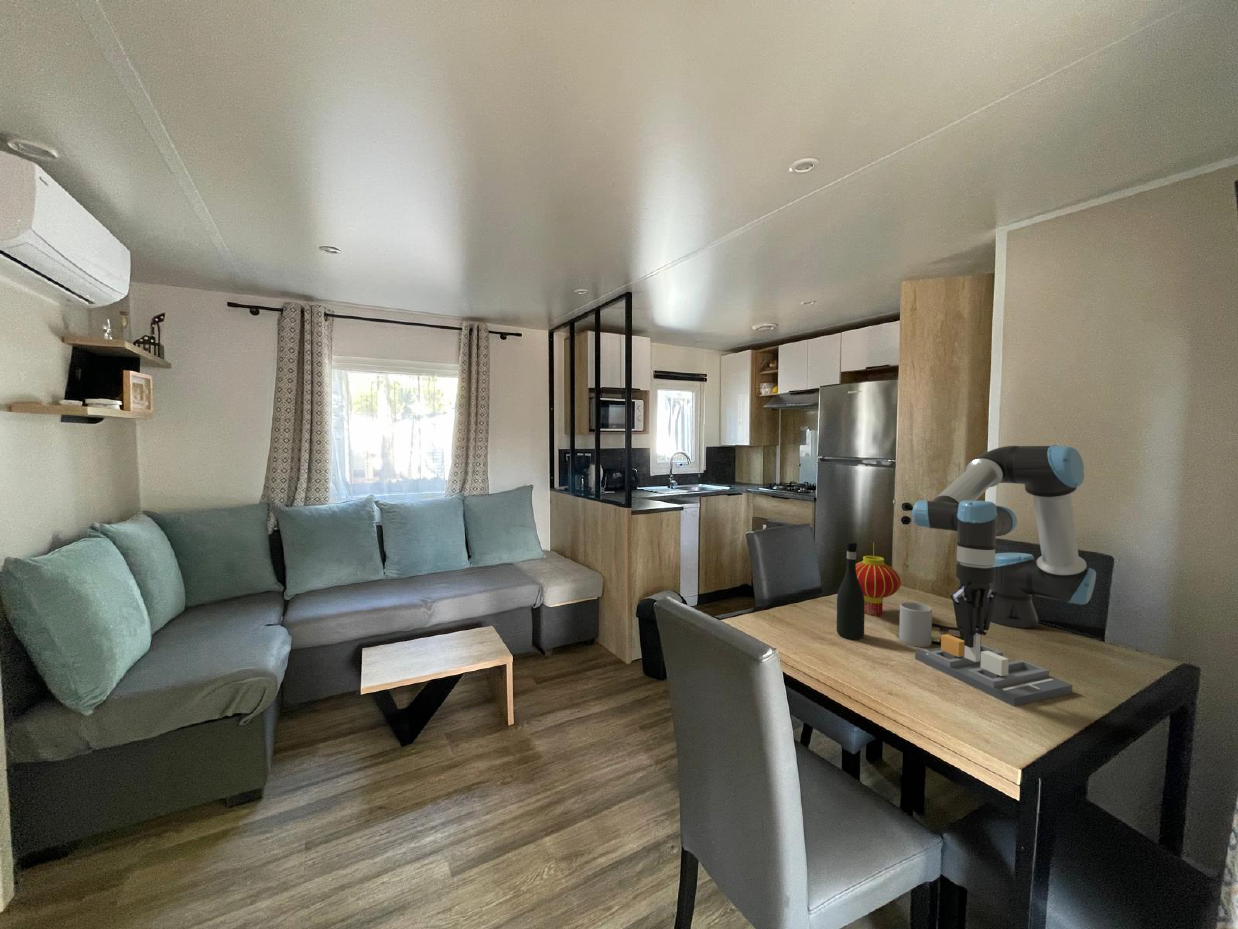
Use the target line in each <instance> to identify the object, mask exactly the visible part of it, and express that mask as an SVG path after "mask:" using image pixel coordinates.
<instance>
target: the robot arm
mask: <svg viewBox="0 0 1238 929" xmlns="http://www.w3.org/2000/svg"><path fill="white" fill-rule="evenodd" d="M1084 471H1085V466H1084V462H1083V458H1082V456H1081V454H1080V452H1079V451H1078V450H1077V449H1076V448H1074V447H1073V446H1067V445H1065V446H1063V445H1062V446H1061V445H1057V444H1055V445H1054V444H1052V445H1007V446H1000V447H997V448H994V449H991V450H989V451H986V452H984V453H982V454H980V455H978V456H976V457H975V458H974V459H971V461H970V462H968V464H967V465H966V467H965V471H964V472H962V473H961V475H960V476H958V477H957V478H956V479H955V480H954V481H953V482H952V483H950V484H949V485H948V486H947V487H946V488H945V489H943V491H941V492H940V493H939V494H938V495H937V496H936V497H935V498H933V499H932V500H928V499H926V500H923V499H922V500H917V501H916V502H915V503H914V505H913V508H912V512H911V515H912V517H911V518H912V521H913V522H914V524H915V525H917V526H919V527H923V528H927V529H933V530H935V529H936V530H941V531H942V530H945V531H950V532H951V531H953V532H956V533H957V534H956V535H957V537H956V539H957V540H956V544H957V547H956V561H958V562H957V563H956V565H955V577H956V578H957V579H958V580H959V585H958V591H957V592H951V593H950V596H949V597H950V599H951V600H952V603H953V609H954V618H955V622H956V628H957V630H958V631H961V632H963V634H964V635H963V636H964V638H963V640H964V645H965V656H964V657H965V658H967V659H970V660H972V661H974V662H978V661H980V646H981V644H982V636H986V635H987V631H989V630H990V626H991V622H992V623H996V624H998V625H1002V626H1007V627H1012V628H1021V629H1033V628H1037V627H1038V626H1039V617H1038V614H1037V612H1036V609H1035V606H1034V604H1033V596H1035V597H1041V598H1046V599H1049V600H1050V599H1051V600H1054V601H1060V602H1063V603H1064V602H1065V603H1068V604H1076V605H1086V604H1088V603H1089V601H1090V600H1091V599H1092V595H1093V593H1094V592H1093V591H1094V589H1095V585H1096V581H1097V580H1096V579H1097V572H1096V570H1095V569H1093V568H1091V567H1088V566H1087V562H1086V560H1085V559H1084V558H1082V557H1081V556H1079V550H1078V542H1077V534H1076V524H1075V518H1074V510H1073V502H1072V501H1073V500H1072V494H1074V493H1075V492H1076V491H1077V490H1078V487H1080V486H1081V485H1082V484H1083V483H1084V479H1085V473H1084ZM999 484H1018V485H1024V490H1025V493H1027V494H1029V495H1031V496H1032V500H1033V507H1034V512H1035V513H1034V514H1035V519H1036V526H1037V534H1038V541H1039V547H1040V553H1041V556H1039V557H1038V558H1037V559H1035V556H1034V555H1033V554H1031V553H1026V552H1025V553H1023V552H997V553H996V537H1002V536H1003V537H1004V536H1006V535H1008V534H1010V533H1011V532H1013V531H1014V530H1015V528H1016V527H1017V524H1018V519H1017V516H1016V514H1015V513H1014V511H1012V509H1010V508H1008V507H1006V506H1002V505H996V503H994V501H993V502H992V501H988V500H978V499H979V498H980V497H981V496H982V495H984V493H985V492H986V491H987V490H988V489H990V488H994V487H996V486H998V485H999Z"/></svg>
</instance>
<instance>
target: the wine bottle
mask: <svg viewBox="0 0 1238 929" xmlns="http://www.w3.org/2000/svg"><path fill="white" fill-rule="evenodd" d="M845 545H846V571H845V574H844V577H843V580H842V581H841V584H840V586H839V588H838V591H837V596H836V633H837V634H838V635H839V636H840V637H843V638H846V639H849V640H859V639H862V638H863V637H864V636H865V600H864V594H863V591H862V588H861V586H860V583H859V581H858V578H857V574H856V564H857V548H858V543H857V542H855V541H846V543H845Z"/></svg>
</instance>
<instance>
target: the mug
mask: <svg viewBox="0 0 1238 929" xmlns="http://www.w3.org/2000/svg"><path fill="white" fill-rule="evenodd" d="M932 625H933V609H932V607H930V606H929V605H926V604H924V603H919V602H912V601H907V602H906V601H905V602H904V601H903V602H901V603H900V604H899V626H898V627H899V630H898V632H899V633H898V638H899V639H898V640H900V641H901V643H904V644H906V645H909V646H912V647H916V648H917V647H918V648H927V647H931V646H932V641H933V640H932V634H933V633H932V629H933V628H932Z"/></svg>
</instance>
